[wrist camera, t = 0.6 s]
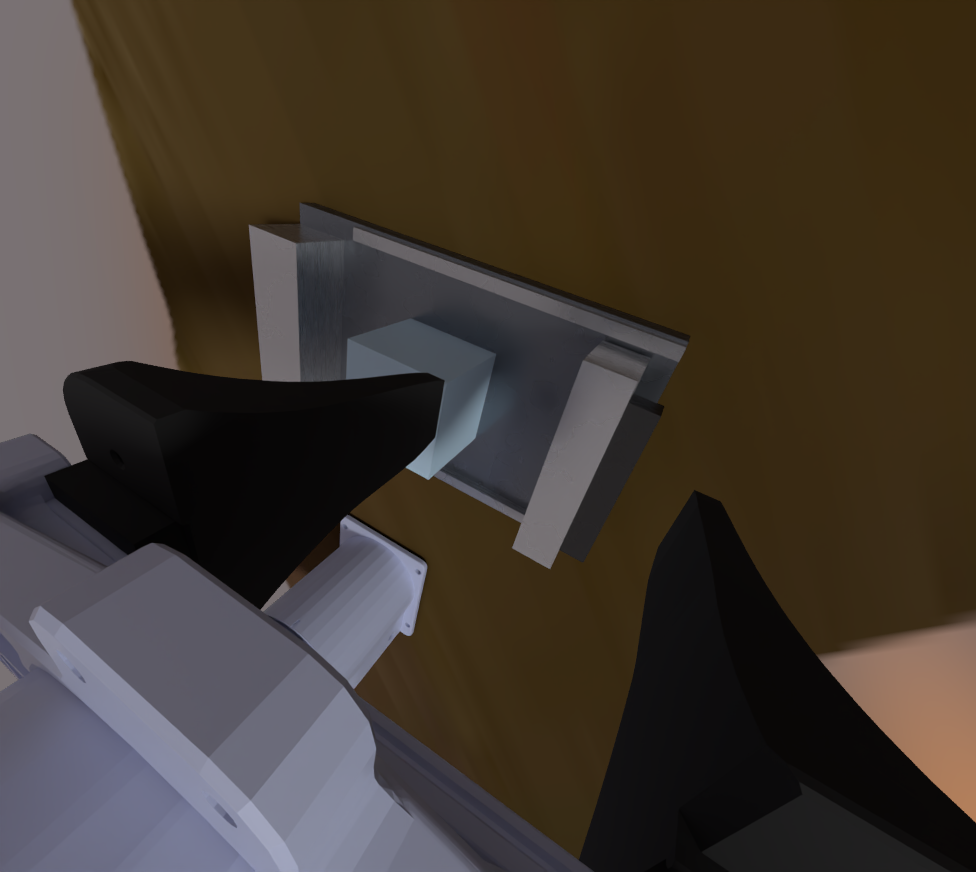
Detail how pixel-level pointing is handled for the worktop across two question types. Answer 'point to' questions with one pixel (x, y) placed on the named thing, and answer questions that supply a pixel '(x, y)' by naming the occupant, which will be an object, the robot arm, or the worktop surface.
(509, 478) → the vise
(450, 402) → the steel block
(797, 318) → the worktop surface
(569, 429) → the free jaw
